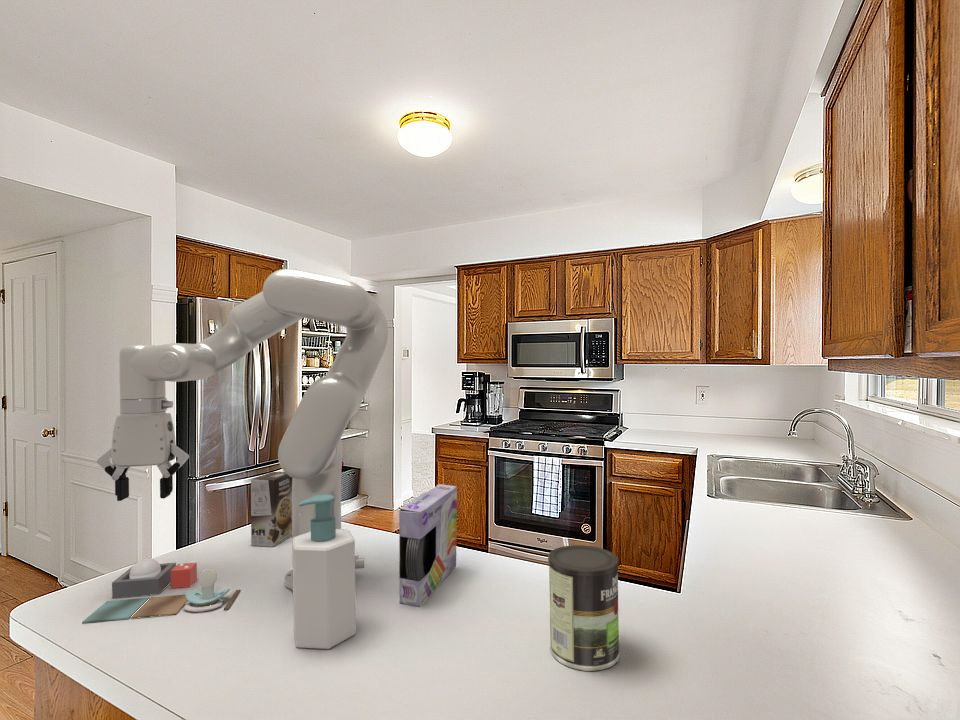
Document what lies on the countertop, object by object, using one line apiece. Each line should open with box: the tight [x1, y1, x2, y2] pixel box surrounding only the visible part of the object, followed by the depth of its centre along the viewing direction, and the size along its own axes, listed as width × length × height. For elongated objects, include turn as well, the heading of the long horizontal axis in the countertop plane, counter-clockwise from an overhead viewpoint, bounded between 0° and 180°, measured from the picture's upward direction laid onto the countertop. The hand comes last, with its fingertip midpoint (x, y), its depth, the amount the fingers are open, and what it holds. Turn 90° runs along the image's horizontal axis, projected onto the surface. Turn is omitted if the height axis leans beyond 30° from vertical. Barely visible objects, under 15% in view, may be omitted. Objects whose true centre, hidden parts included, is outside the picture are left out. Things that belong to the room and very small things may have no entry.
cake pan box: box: [398, 483, 458, 608], centre depth 99 cm, size 19×5×18 cm, turn 161°
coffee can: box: [547, 544, 621, 672], centre depth 76 cm, size 10×10×14 cm
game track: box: [81, 589, 241, 625], centre depth 92 cm, size 23×8×1 cm, turn 100°
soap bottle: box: [291, 494, 357, 650], centre depth 82 cm, size 10×9×22 cm
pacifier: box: [183, 568, 231, 613], centre depth 92 cm, size 7×6×6 cm
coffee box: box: [250, 471, 293, 548], centre depth 126 cm, size 9×6×16 cm
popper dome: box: [129, 557, 161, 579], centre depth 100 cm, size 5×5×5 cm
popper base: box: [111, 561, 198, 599], centre depth 101 cm, size 13×8×4 cm, turn 100°
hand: (144, 497), depth 100 cm, fingers open, 7 cm apart
